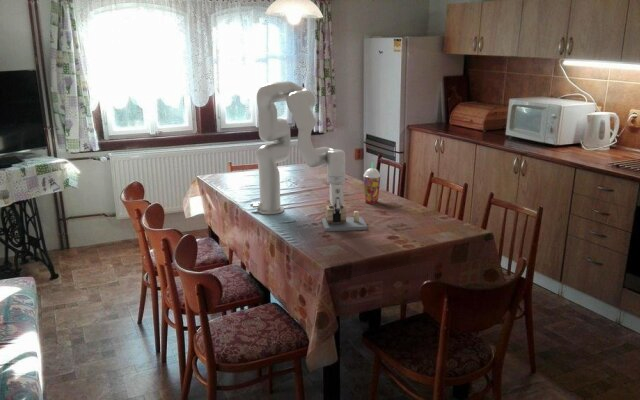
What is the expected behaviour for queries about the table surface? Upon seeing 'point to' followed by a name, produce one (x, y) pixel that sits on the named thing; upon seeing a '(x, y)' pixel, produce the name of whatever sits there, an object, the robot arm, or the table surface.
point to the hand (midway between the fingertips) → (335, 219)
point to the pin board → (346, 224)
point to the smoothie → (371, 185)
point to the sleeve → (331, 210)
